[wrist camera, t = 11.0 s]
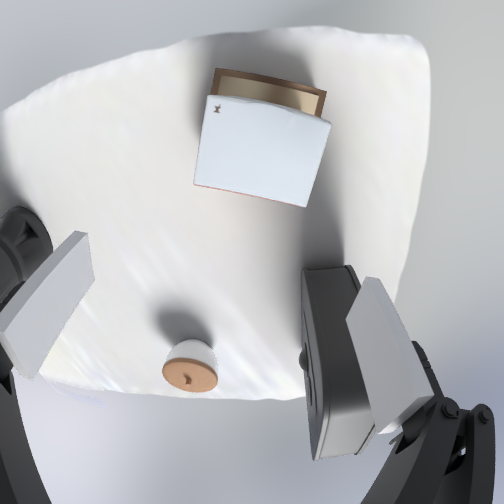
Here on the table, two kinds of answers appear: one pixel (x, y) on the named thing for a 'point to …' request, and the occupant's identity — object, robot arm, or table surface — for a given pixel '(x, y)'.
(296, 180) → the small box
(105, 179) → the table surface
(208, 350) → the lidded jar
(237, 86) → the brown square box
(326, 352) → the speaker
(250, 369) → the table surface
